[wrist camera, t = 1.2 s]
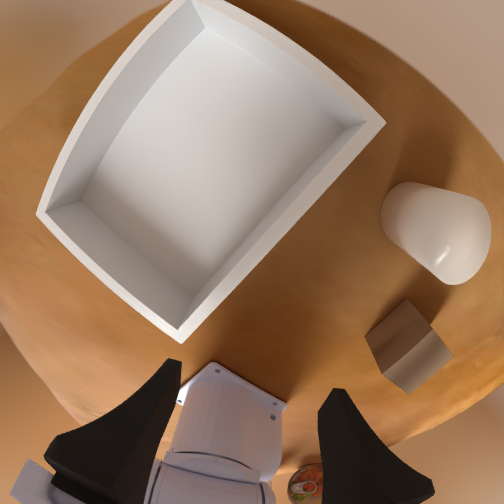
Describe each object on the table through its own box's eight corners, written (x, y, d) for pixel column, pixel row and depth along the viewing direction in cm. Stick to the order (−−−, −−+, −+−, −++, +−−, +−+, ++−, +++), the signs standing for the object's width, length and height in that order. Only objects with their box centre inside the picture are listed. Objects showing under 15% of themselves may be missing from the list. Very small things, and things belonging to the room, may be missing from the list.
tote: (357, 130, 16) (386, 122, 11) (198, 305, 21) (181, 344, 16) (206, 19, 14) (189, -15, 9) (75, 200, 19) (35, 214, 14)
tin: (382, 452, 29) (392, 494, 21) (375, 461, 30) (385, 500, 22) (287, 464, 30) (288, 511, 22) (285, 471, 31) (286, 515, 23)
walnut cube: (429, 324, 21) (453, 356, 16) (391, 359, 22) (409, 394, 18) (406, 296, 20) (432, 329, 15) (364, 335, 21) (381, 374, 17)
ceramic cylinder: (443, 214, 17) (500, 240, 11) (405, 258, 19) (452, 300, 12) (409, 167, 17) (469, 176, 10) (367, 215, 18) (414, 245, 11)
